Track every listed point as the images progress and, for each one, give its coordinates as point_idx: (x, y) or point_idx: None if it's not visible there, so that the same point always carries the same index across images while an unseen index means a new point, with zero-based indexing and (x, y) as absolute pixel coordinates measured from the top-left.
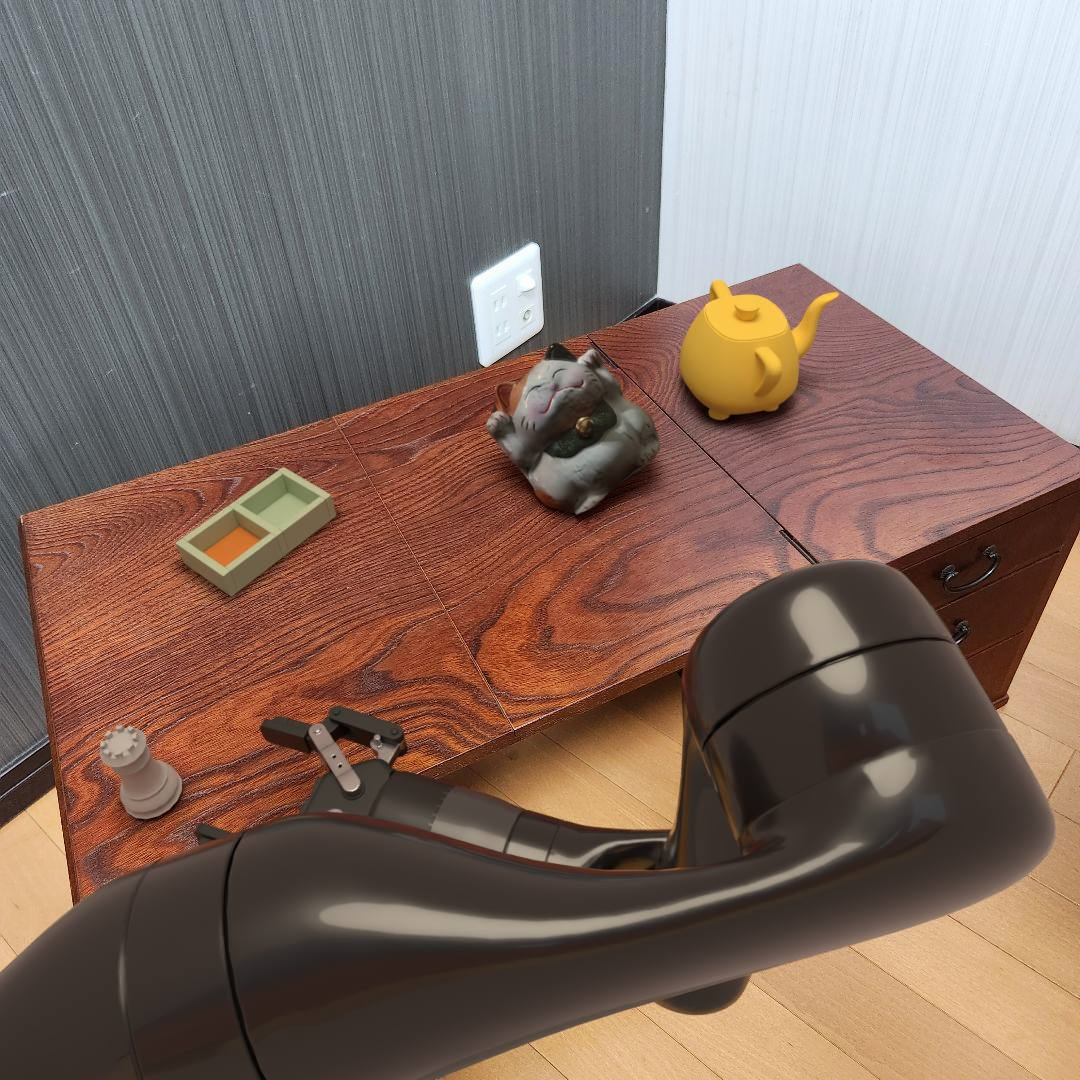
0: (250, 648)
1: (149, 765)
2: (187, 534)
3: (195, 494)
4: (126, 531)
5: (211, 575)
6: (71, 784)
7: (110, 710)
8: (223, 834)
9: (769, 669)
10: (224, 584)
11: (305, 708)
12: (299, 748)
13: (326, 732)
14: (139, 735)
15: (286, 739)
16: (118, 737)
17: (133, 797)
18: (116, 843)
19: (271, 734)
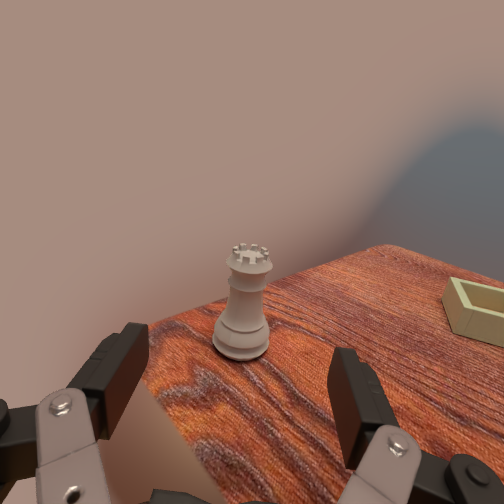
0: (426, 364)
1: (248, 300)
2: (464, 280)
3: None
4: (425, 270)
5: (453, 308)
6: None
7: (301, 298)
8: (117, 354)
9: None
10: (457, 317)
11: None
12: (343, 438)
13: (410, 471)
14: (264, 264)
15: (342, 400)
16: (254, 252)
17: (222, 315)
18: (188, 333)
19: (336, 373)
